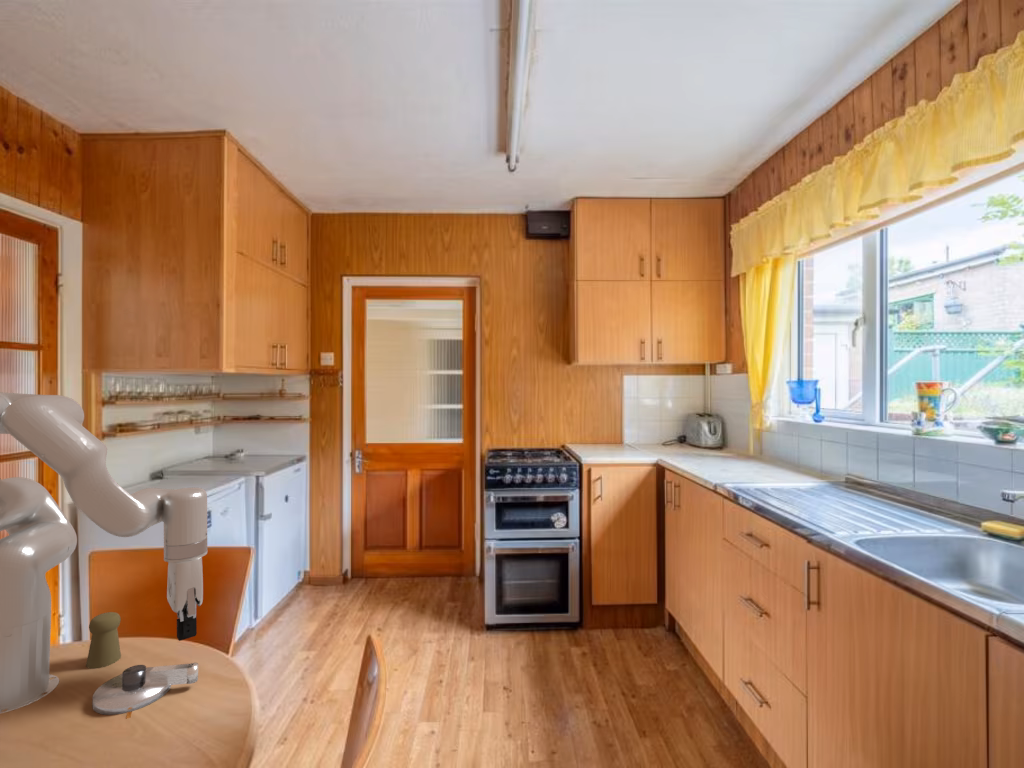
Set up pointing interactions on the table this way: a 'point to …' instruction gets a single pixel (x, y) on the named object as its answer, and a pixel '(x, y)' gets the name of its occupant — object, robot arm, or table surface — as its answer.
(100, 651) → the olive pepper mill
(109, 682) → the dial
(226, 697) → the table surface
